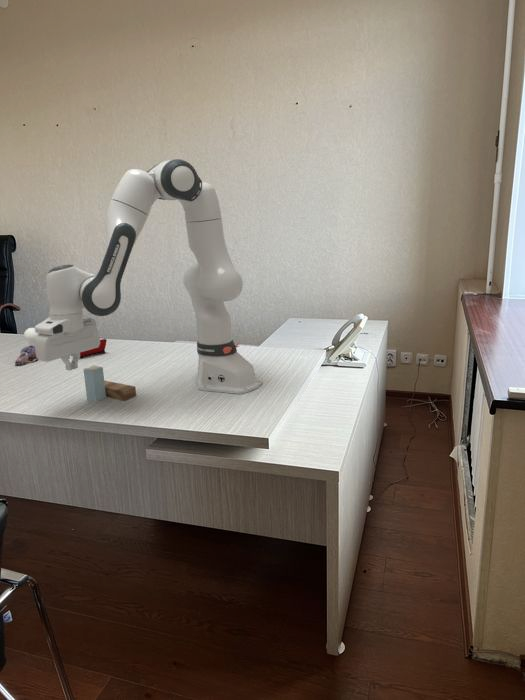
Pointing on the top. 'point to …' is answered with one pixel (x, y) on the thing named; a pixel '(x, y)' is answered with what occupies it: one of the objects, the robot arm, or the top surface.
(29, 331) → the lightbulb
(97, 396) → the block
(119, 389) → the rail
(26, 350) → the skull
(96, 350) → the handheld game console
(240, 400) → the top surface
